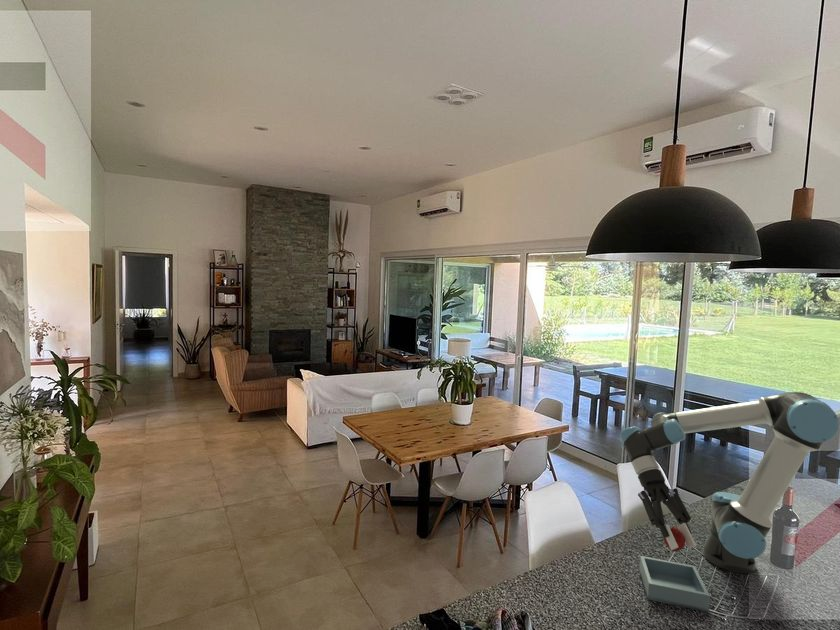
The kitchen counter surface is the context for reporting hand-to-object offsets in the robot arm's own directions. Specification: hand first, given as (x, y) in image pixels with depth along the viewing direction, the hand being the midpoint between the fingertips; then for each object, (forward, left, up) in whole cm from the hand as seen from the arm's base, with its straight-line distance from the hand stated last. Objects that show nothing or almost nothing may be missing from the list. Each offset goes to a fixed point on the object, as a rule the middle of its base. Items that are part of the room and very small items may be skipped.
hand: (683, 547), depth 135 cm
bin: (+2, -3, -16) cm, 16 cm away
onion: (+2, -3, -4) cm, 5 cm away
